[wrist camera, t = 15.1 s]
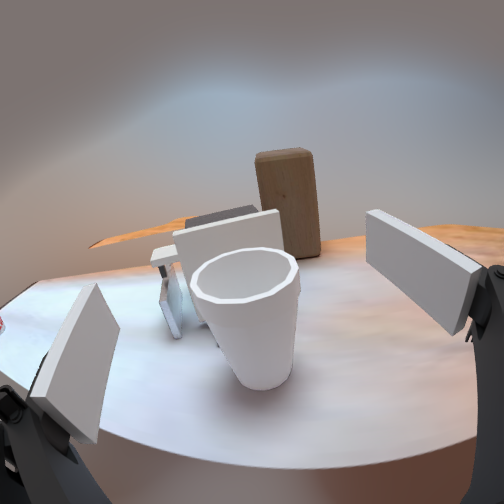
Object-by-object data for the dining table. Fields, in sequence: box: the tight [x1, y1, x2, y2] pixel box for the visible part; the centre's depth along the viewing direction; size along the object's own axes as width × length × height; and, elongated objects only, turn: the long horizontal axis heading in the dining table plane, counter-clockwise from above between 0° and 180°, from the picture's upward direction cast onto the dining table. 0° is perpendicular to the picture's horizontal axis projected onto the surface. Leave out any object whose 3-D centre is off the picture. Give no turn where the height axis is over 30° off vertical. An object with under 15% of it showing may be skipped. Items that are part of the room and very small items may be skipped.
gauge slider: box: [150, 209, 284, 322], centre depth 37 cm, size 6×17×13 cm, turn 102°
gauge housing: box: [159, 205, 258, 347], centre depth 39 cm, size 18×17×12 cm
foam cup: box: [190, 247, 301, 391], centre depth 26 cm, size 10×9×13 cm
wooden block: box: [255, 147, 321, 259], centre depth 51 cm, size 10×10×20 cm
